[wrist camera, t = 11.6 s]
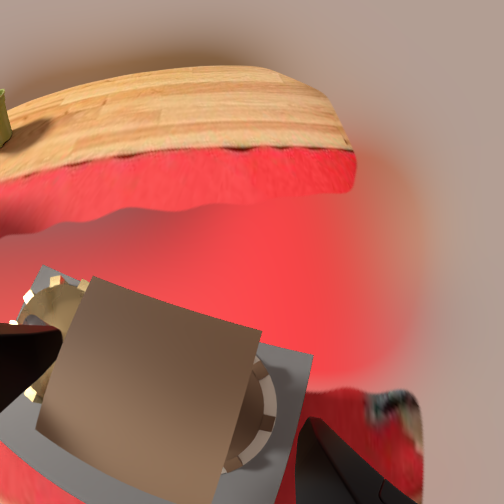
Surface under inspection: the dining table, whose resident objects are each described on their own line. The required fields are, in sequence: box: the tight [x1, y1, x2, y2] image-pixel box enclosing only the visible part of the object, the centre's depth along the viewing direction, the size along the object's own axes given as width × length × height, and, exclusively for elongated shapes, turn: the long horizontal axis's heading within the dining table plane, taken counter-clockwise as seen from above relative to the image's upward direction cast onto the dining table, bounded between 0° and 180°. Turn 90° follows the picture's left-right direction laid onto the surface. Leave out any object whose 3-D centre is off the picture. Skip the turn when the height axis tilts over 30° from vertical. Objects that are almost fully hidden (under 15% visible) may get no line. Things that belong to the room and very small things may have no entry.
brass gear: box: [10, 275, 89, 404], centre depth 15 cm, size 10×10×4 cm
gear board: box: [0, 265, 313, 504], centre depth 15 cm, size 16×23×2 cm
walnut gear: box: [35, 276, 276, 504], centre depth 10 cm, size 9×9×12 cm
